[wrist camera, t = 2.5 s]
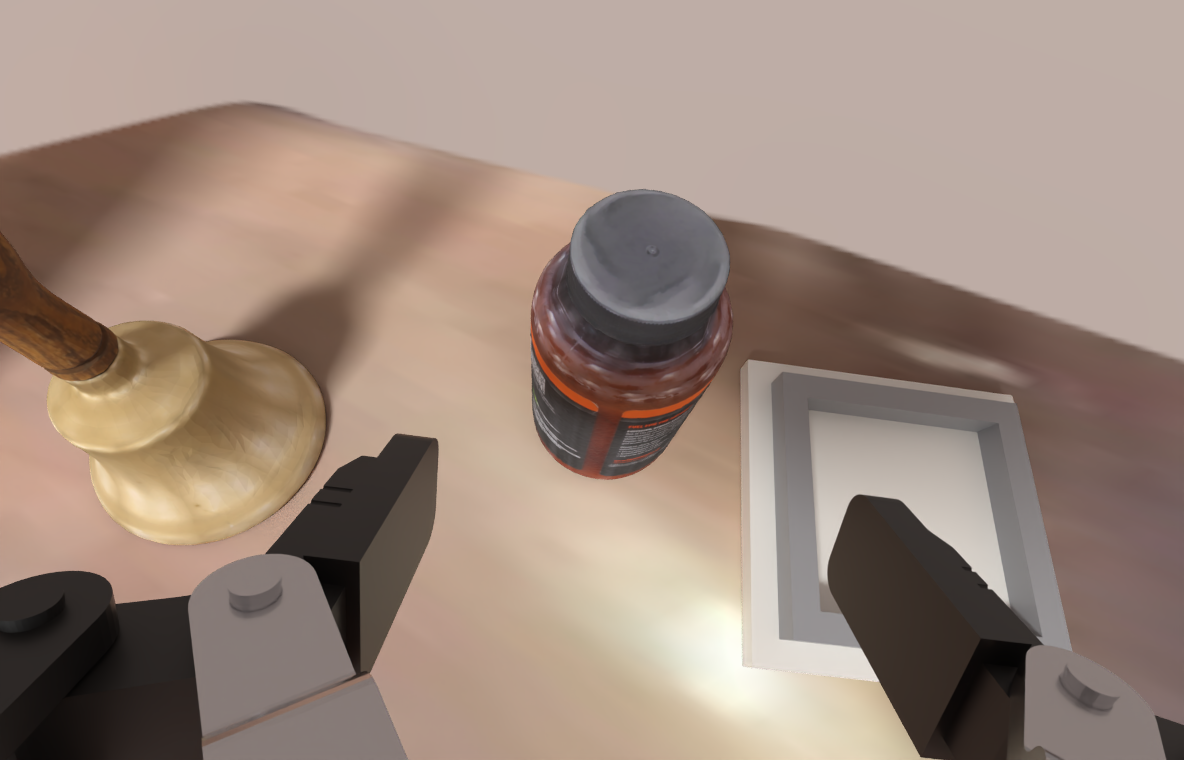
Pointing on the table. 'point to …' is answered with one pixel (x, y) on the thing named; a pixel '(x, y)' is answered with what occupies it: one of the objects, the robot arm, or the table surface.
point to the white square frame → (884, 469)
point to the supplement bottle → (628, 331)
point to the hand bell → (168, 414)
